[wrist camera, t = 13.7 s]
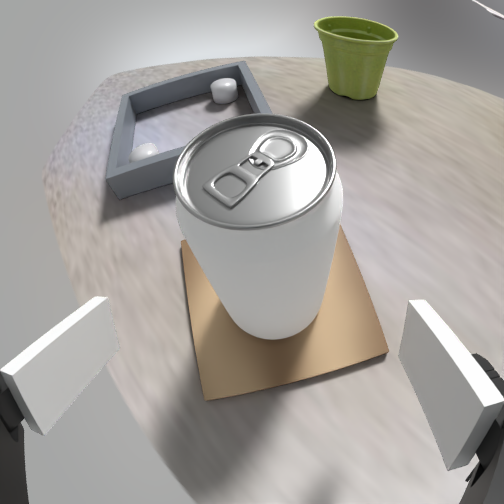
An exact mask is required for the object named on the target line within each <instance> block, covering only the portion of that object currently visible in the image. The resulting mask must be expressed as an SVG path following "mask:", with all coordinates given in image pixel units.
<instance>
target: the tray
mask: <svg viewBox="0 0 504 504" xmlns="http://www.w3.org/2000/svg"><path fill="white" fill-rule="evenodd" d="M238 85H242V87H243V89H244V91H245V94H246V96H247V98H248V100H249V103H250V105H251V107H252V110H253V112H254V114H258V113H268V114H273V113H272V111H271V109H270V107H269V106H268V104H267V102H266V100H265V98H264V96H263V94H262V92H261V90H260V88H259V86H258V84H257V82H256V81H255V79H254V77H253V75H252V73H251V71H250V69H249V68H248V66H247V64H246V62H245V61H241V62H236V63H231V64H226V65H222V66H217V67H213V68H209V69H205V70H201V71H197V72H193V73H189V74H186V75H182V76H179V77H175V78H172V79H168V80H165V81H162V82H159V83H156V84H153V85H150V86H147V87H144V88H141V89H138V90H135V91H132V92H130V93H127V94H124V95H122V99H121V103H120V107H119V111H118V116H117V120H116V125H115V129H114V134H113V139H112V144H111V149H110V155H109V161H108V167H107V173H106V181H107V182H108V184H109V185H110V187H111V188H112V190H113V191H114V193H115V194H116V196H117V197H118V199H122V198H125V197H128V196H132V195H135V194H138V193H141V192H144V191H147V190H151V189H154V188H157V187H160V186H164V185H167V184H170V183H173V172H174V167H175V164H176V161H177V159H178V157H179V155H180V154H181V152H182V151H183V149H184V148H185V147H186V146H184V147H180V148H177V149H173V150H170V151H167V152H164V153H160V154H159V151H158V149H157V147H156V145H154V144H152V143H146V144H142V145H140V146H138V147H136V148H135V149H134V150H133V151H132V146H133V137H134V129H135V122H136V114H138V113H141V112H144V111H147V110H150V109H153V108H156V107H159V106H162V105H165V104H168V103H172V102H175V101H178V100H182V99H185V98H189V97H192V96H196V95H200V94H204V93H208V92H212V95H213V99H214V102H216V103H218V104H226V103H230V102H233V101H235V100H236V99H237V98H238V91H237V86H238Z"/></svg>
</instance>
